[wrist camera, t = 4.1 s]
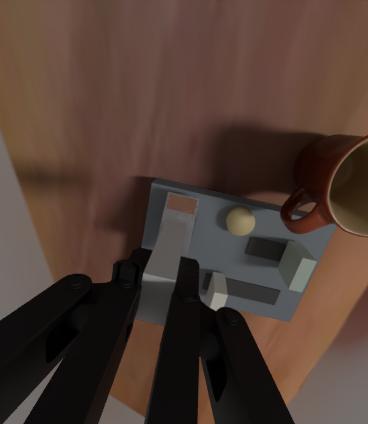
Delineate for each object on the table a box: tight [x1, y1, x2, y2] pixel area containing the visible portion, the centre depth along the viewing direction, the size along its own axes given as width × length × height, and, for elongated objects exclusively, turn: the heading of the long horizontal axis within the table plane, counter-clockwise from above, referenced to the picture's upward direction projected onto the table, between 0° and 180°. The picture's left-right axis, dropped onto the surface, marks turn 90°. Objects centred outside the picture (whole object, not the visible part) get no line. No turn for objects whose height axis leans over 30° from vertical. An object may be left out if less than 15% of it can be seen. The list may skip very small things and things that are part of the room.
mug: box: [280, 134, 368, 237], centre depth 23 cm, size 12×9×10 cm
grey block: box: [277, 240, 317, 292], centre depth 26 cm, size 4×2×4 cm, turn 168°
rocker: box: [156, 192, 200, 257], centre depth 25 cm, size 8×4×2 cm, turn 168°
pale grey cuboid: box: [206, 272, 228, 311], centre depth 28 cm, size 4×2×4 cm, turn 168°
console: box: [141, 178, 337, 322], centre depth 30 cm, size 15×22×4 cm
